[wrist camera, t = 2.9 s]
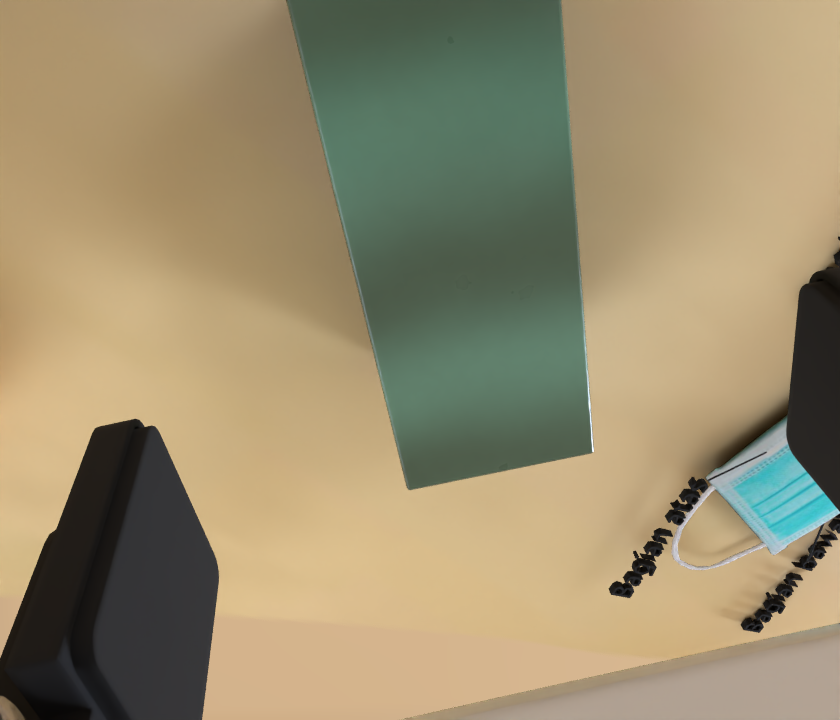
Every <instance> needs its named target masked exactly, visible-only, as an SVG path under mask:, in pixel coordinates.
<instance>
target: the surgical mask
mask: <svg viewBox="0 0 840 720" xmlns="http://www.w3.org/2000/svg"><path fill="white" fill-rule="evenodd" d="M838 239H839V240H840V237H838ZM834 259H835V264H836V265H838V266H839V267H840V251H839V252H837V253H836V254H835V255H834ZM832 268H833V267H829V268H827V269H832ZM827 269H826V270H827ZM787 416H788V415H786V416H785V417H784V418H783V419H782V420H781V421H779V422H778V423H776V424H775V425H773V426H772V427H771V428H769V429H768V430H767V431H765V432H764V433H763V434H762V435H760V436H759V437H758V438H757V439H755V440H754V441H753V442H751V443H750V444H749V445H747V446H746V447H745V448H744V449H743V450H741V451H740V452H739V453H737V454H736V455H735V456H734V457H732V458H731V459H730V460H729V461H727V462H726V463H725V464H724V465H722V466H721V467H720V468H716V469H715V470H713V471H712V472H711V473H710V474H708V475H707V476H706V477H705V478H706V479H707V481H708V482H709V483H710V484H711V485H710V486H709V487H708V485H707V483H706V481H705V480H704V479H698V480H697V481H696V480H695V478H694V477H691V479H690V480H689V481H688V484H689V486H690V488H691V489H684V490H683V491H682V493H681V494H680V495H679V497H680V498H681V500H682V502H685V500H686V501H687V502H688V503H687V504H686V505H685V504H680V503H679V501H678V500H676V501H675V502H671V503H670V504H671V505H672V507H673V508H674V510H669V512H668V513H667V514H666V516H665V517H666V519H667V521H668V523H670V522H671V520H672V521H673V523H674V524H676V525H678V527H677V530H676V533H675V536H674V538H673V542H672V556H673V558H674V560H675V561H677V562H678V563H679V564H680V565H682V566H684V567H686V568H688V569H694V570H705V569H711V568H716V567H718V566H722V565H725V564H727V563H729V562H731V561H734V560H736V559H738V558H740V557H742V556H744V555H746V554H748V553H751V552H753V551H756V550H758V549H761V548H763V547H766V546H767V548H768V550H769V551H770V553H771V554H772V555H775V554H777V553H778V552H780V551H782V550H783V549H785V548H786V547H787V545H788V544H789V543H791V542H793V541H795V540H797V539H798V538H800V537H802V536H804V535H805V534H807V533H809V532H811V531H813V530H814V529H816V528H817V527H819V526H821V527H820V530H819V532H818V535H817V537H816V539H815V542H814V544H813V545H812V546H811V547H810V548H809V549H808V551H809V556H808V555H805V556H803V557H801V558H800V560H799V561H800V562H792V563H793V565H794V566H795V567H799V568H802V569H806V570H809V571H812V570H813V568H815V566H816V565H817V563H816V561H815V559H814V557H815V558H817V559H822V558H823V557H824V556H825V555H824V553H827V552H826V551H825V549H824V547H821V546H832V545H831V543H830V541H829V540H838V539H837V537H836V535H835V534H833V533H832V532H830V531H828V530H827V531H828V533H829V534H827V535H820V533H821V531H822V528H823V526H824V523H826V522H827V521H829V520H830V519H832V518H834V517H837V518H840V512H839V510H838V509H837V508H836V507H835V506H834V504H833V503H832V502H831V501H830V499H829V498H828V497H827V496H826V495H825V493H824V492H823V491H822V490H821V488H820V487H819V486H818V485H817V484H816V482H815V481H814V480H813V479H812V478H811V476H810V475H809V474H808V473H807V471H806V470H805V469H804V468H803V467H802V465H801V464H800V463H799V462H798V461H797V459H796V458H795V457H794V455H793V454H792V452H791V450H790V448H789V445H788V442H787V437H786V426H787ZM698 489H700V490H701V492H702V495H701V496H700V495H699V492H698V491H697V490H698ZM715 489H716V490H717V491H718V493H719V494H720V495H721V496H722V497H723V498H724V499H725V500H726V501H727V502H728V503H729V504H730V506H731V507H732V508H733V509H734V510H735V512H736V513H737V514H738V515H739V516H740V517H741V518H742V520H743V521H744V522H745V523H746V524H747V525H748V526H749V527H750V529H751V530H752V531H753V532H754V533H755V534H756V535H757V536H758V537H759V539H760V540H761V541H762V543H760V544H758V545H756V546H754V547H752V548H749V549H747V550H744V551H742V552H739V553H737V554H735V555H732V556H730V557H728V558H726V559H724V560H722V561H720V562H718V563H716V564H713V565H711V566H694V565H690V564H687V563H686V562H684V561H682V560H680V559H679V554H678V548H677V544H678V541H679V538H680V535H681V532H682V530H683V528H684V526H685V525H686V523H687V522H688V520H689V519H690V518H691V516H692V515H693V513H694V512H695V511H696V509H697V508H698V507H699V506H700V505H701V503H702V502H703V501H704V500H705V499H706V498H707V497H708V495H709V494H710V493H711V492H712V491H714V490H715ZM678 510H680V511H678ZM681 511H686V512H687V513H686V514H684V512H681ZM829 527H830V528H831V529H832V531H834V530H836V531H837V532H838V533H840V519H833V521H832V522H831V523H830V524H829ZM819 535H820V536H821V537H822V538H823V539H824V540H825V541H818V542H817V540H818V538H819ZM660 536H670V537H673V535H672V533H671V531H670V530H666V529H662V528H658V529H656V530H654V535H653V536H651V537H652V538H653V540H654V541H656V542H654V541H648V542H647V544H646V545H645V546H644V547H643V548H644V550H645V552H646V554H641V553H639V554H640V555H641V557H642V558H643V559H642V558H639V556H638V554H637V552H636V551H633V554H634V556H635V558H637V560H635V561H633V564H632V569H633V571H627V573H626V574H625V575H624V577H623V578H624V581H625V583H624V584H622V583H621V582H618V581H616V582H614V583H612V585H611V586H610V588H609V591H610V593H611V595H616V596H621V597H627V598H630V597H631V596H632V594H633V593H634V589H633V587H632V585H633V586H639V584H640V583H641V580H643V578H642V575H644V574H646V573H648V572H649V576H653V574H654V572H655V570H656V568H657V567H656V566H655V564H654V562H652V561H655V558H654V556H657V557H659V555H660V554H661V553H662V551H661V550H664V549H663V546H662V544H661V543H664V544H667V541H666V539H665V538H662V537H660ZM658 542H660V543H658ZM816 544H817V545H816ZM649 552H651V555H648V554H649ZM813 555H814V557H813ZM650 560H651V561H650ZM655 562H656V561H655ZM808 562H809V563H808ZM640 566H642V567H640ZM649 567H650V568H649ZM792 580H803V579H802V577H801V575H799V574H795V573H789V574H787V575H786V579H784V582H785V583H786V584H787V585H786V584H780V585H779V586H778V587H777V588H776V589H775V590H776V592H777V593H778V595H774V594H771V595H772V596H773V597H774V599H772V597H771V596H770V594H769V592H767V593H766V595H767V597H768V600H766V601H765V602H764V603H763V605H764V607H765V609H766V610H764V609H760V610H758V611H757V612H756V613H755V614H754V615H755V617H756V618H757V619H754V620H753V621H752V619H751V618H748V619H745V620H744V621H743V622H742V624H741V626H742V628H743V630H747V631H753V632H758V633H760V631H761V630H762V629H763V628H764V627H763V624H762V622H761V621H760V618H761V620H762V621H763V622H765V623H766V622H769V621H770V619H771V617H773V616H772V614H771V613H774V612H777V611H778V613H779V614H781V613H782V612H783V610H784V608H785V607H786V606H785V605H784V603H783V602H782V601H785V599H784V597H783V596H785V597H787V598H788V597H789V596H791V595H792V592H794V590H793V588H792V587H791V586H795V587H798V586H797V584H796V583H795V581H792ZM629 581H630V583H631V584H632V585H631V584H630V583H629ZM790 585H791V586H790ZM781 593H782V595H783V596H781ZM780 600H781V601H780ZM785 602H786V601H785Z"/></svg>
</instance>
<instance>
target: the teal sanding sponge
mask: <svg viewBox="0 0 840 720" xmlns="http://www.w3.org/2000/svg"><path fill="white" fill-rule="evenodd" d="M286 1H287V5H288V9H289V14H290V18H291V22H292V26H293V30H294V34H295V38H296V42H297V46H298V50H299V54H300V58H301V62H302V66H303V70H304V74H305V78H306V82H307V86H308V90H309V94H310V98H311V102H312V106H313V111H314V115H315V119H316V123H317V127H318V131H319V135H320V139H321V143H322V147H323V151H324V155H325V159H326V163H327V167H328V171H329V175H330V179H331V183H332V187H333V191H334V195H335V199H336V203H337V207H338V212H339V216H340V220H341V224H342V228H343V232H344V236H345V240H346V244H347V248H348V252H349V256H350V260H351V264H352V268H353V272H354V276H355V280H356V284H357V288H358V292H359V296H360V300H361V304H362V309H363V313H364V317H365V321H366V325H367V329H368V333H369V337H370V341H371V345H372V349H373V353H374V357H375V361H376V365H377V369H378V373H379V377H380V381H381V385H382V389H383V393H384V397H385V401H386V406H387V410H388V414H389V418H390V422H391V426H392V430H393V434H394V438H395V442H396V446H397V450H398V454H399V458H400V462H401V466H402V470H403V474H404V478H405V482H406V486H407V488H408V490H413V489H418V488H423V487H428V486H433V485H438V484H443V483H447V482H452V481H457V480H462V479H467V478H472V477H477V476H482V475H487V474H492V473H497V472H502V471H507V470H511V469H516V468H521V467H526V466H531V465H536V464H541V463H546V462H551V461H556V460H561V459H566V458H571V457H575V456H580V455H585V454H590V453H593V451H594V445H593V431H592V418H591V404H590V390H589V376H588V363H587V349H586V335H585V321H584V308H583V294H582V280H581V266H580V253H579V239H578V225H577V211H576V198H575V184H574V170H573V156H572V143H571V129H570V115H569V101H568V88H567V74H566V60H565V46H564V33H563V19H562V5H561V0H286Z"/></svg>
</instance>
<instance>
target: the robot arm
mask: <svg viewBox="0 0 840 720" xmlns="http://www.w3.org/2000/svg"><path fill="white" fill-rule="evenodd" d="M786 437H787V442H788V445H789V448H790V450H791V452H792V454H793V455H794V457H795V458H796V459H797V461H798V462H799V463H800V464H801V465H802V467H803V468H804V469H805V470H806V471H807V473H808V474H809V475H810V476H811V478H812V479H813V480H814V481H815V482H816V484H817V485H818V486H819V487H820V488H821V490H822V491H823V492H824V493H825V495H826V496H827V497H828V498H829V499H830V501H831V502H832V503H833V504H834V506H835V507H836V508H837V509H838V510H839V512H840V267H836V268H832V269H827V270H822V271H818V272H816V273H814V274H813V275H812V277H811V279H810V282H809V284H805V285H804V286H802V288H801V290H800V293H799V300H798V310H797V321H796V331H795V342H794V352H793V363H792V373H791V384H790V395H789V405H788V416H787V426H786ZM218 584H219V571H218V565H217V561H216V558H215V555H214V553H213V550H212V548H211V546H210V544H209V541H208V539H207V537H206V535H205V533H204V530H203V528H202V526H201V524H200V522H199V519H198V517H197V515H196V513H195V510H194V508H193V506H192V504H191V502H190V499H189V497H188V495H187V493H186V490H185V488H184V486H183V484H182V482H181V479H180V477H179V475H178V473H177V471H176V468H175V466H174V464H173V462H172V459H171V457H170V455H169V453H168V451H167V448H166V446H165V444H164V442H163V439H162V437H161V435H160V433H159V431H158V429H157V428H156V427H155V426H148V427H144V425H143V424H142V422H141V421H140V420H138V419H133V420H128V421H123V422H119V423H114V424H109V425H105V426H100V427H97V428H95V430H94V431H93V433H92V436H91V438H90V441H89V444H88V446H87V449H86V452H85V454H84V457H83V460H82V462H81V465H80V468H79V470H78V473H77V476H76V478H75V481H74V484H73V486H72V489H71V492H70V494H69V497H68V500H67V502H66V505H65V508H64V510H63V513H62V516H61V518H60V521H59V524H58V526H57V529H56V530H55V531H53V532H52V533H51V534H49V536H48V538H47V540H46V541H45V543H44V546H43V549H42V551H41V554H40V556H39V559H38V562H37V564H36V567H35V569H34V572H33V575H32V577H31V580H30V582H29V585H28V588H27V590H26V593H25V595H24V598H23V601H22V603H21V606H20V608H19V611H18V614H17V616H16V619H15V621H14V624H13V627H12V629H11V632H10V634H9V637H8V640H7V642H6V645H5V647H4V650H3V653H2V655H1V658H0V720H202V714H203V706H204V699H205V691H206V682H207V674H208V666H209V658H210V650H211V641H212V633H213V625H214V617H215V608H216V600H217V592H218ZM401 720H840V623H838V624H833V625H828V626H824V627H819V628H814V629H810V630H805V631H800V632H796V633H791V634H786V635H782V636H777V637H772V638H768V639H763V640H758V641H754V642H749V643H744V644H740V645H735V646H730V647H726V648H721V649H717V650H712V651H708V652H703V653H698V654H694V655H689V656H685V657H680V658H676V659H671V660H666V661H662V662H657V663H653V664H648V665H644V666H639V667H635V668H630V669H626V670H621V671H616V672H612V673H608V674H603V675H598V676H594V677H589V678H584V679H580V680H576V681H571V682H567V683H562V684H557V685H553V686H548V687H544V688H540V689H535V690H530V691H526V692H521V693H517V694H512V695H508V696H503V697H498V698H494V699H490V700H486V701H481V702H476V703H472V704H468V705H463V706H458V707H454V708H450V709H445V710H441V711H437V712H432V713H428V714H423V715H419V716H414V717H410V718H405V719H401Z"/></svg>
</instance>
